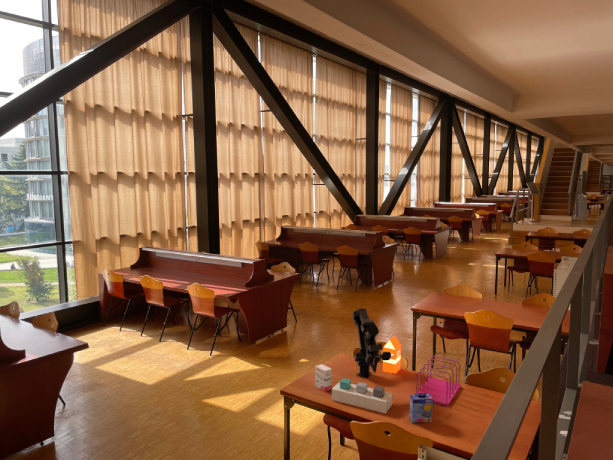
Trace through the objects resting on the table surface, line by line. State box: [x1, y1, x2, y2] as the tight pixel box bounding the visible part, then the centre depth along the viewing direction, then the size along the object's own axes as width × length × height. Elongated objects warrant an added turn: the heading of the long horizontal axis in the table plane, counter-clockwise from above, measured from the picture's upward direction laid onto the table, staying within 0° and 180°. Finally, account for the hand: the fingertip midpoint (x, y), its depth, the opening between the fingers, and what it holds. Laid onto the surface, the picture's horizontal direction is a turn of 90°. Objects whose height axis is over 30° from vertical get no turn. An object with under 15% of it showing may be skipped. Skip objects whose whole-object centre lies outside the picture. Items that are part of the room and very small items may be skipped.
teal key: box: [339, 377, 352, 390], centre depth 248 cm, size 4×4×4 cm
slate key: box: [355, 381, 369, 394], centre depth 244 cm, size 4×4×4 cm
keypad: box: [331, 380, 393, 414], centre depth 245 cm, size 10×29×6 cm, turn 62°
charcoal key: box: [372, 385, 386, 398], centre depth 240 cm, size 4×4×4 cm
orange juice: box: [382, 335, 402, 375], centre depth 281 cm, size 8×9×20 cm
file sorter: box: [415, 355, 462, 407], centre depth 254 cm, size 17×25×16 cm
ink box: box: [314, 363, 333, 392], centre depth 260 cm, size 8×5×12 cm, turn 39°
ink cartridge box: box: [409, 393, 434, 424], centre depth 227 cm, size 10×6×14 cm, turn 95°
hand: (374, 372), depth 248 cm, fingers closed
